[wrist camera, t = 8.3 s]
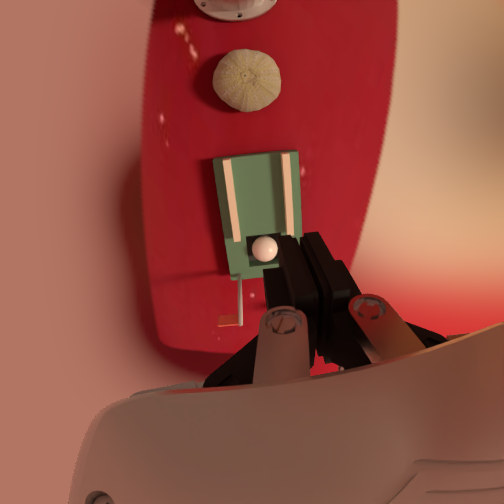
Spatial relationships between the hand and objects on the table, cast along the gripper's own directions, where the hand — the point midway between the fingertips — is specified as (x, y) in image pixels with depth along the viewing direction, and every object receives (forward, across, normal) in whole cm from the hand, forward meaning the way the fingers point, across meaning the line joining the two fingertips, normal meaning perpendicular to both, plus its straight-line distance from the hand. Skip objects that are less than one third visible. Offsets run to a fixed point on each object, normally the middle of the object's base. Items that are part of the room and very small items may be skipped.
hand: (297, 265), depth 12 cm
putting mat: (+31, 0, +10) cm, 33 cm away
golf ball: (+29, 0, +15) cm, 33 cm away
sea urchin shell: (+32, 0, -10) cm, 34 cm away
